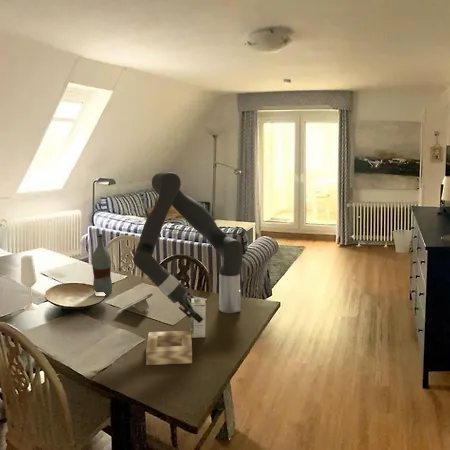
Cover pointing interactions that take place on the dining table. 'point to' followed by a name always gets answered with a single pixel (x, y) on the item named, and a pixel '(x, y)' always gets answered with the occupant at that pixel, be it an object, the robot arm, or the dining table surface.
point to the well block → (169, 348)
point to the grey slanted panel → (139, 303)
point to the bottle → (102, 268)
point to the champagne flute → (28, 278)
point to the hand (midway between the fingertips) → (202, 317)
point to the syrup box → (200, 308)
